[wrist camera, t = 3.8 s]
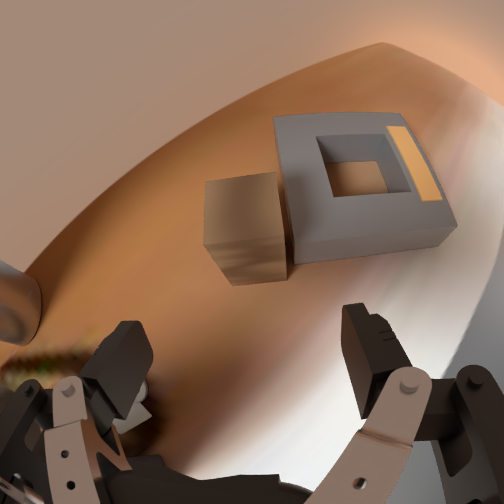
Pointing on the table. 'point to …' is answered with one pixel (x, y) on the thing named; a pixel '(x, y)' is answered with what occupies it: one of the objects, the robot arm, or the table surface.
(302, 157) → the socket block
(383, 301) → the table surface
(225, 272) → the walnut peg
